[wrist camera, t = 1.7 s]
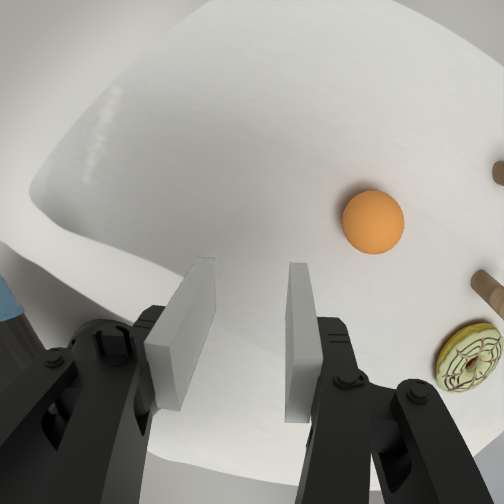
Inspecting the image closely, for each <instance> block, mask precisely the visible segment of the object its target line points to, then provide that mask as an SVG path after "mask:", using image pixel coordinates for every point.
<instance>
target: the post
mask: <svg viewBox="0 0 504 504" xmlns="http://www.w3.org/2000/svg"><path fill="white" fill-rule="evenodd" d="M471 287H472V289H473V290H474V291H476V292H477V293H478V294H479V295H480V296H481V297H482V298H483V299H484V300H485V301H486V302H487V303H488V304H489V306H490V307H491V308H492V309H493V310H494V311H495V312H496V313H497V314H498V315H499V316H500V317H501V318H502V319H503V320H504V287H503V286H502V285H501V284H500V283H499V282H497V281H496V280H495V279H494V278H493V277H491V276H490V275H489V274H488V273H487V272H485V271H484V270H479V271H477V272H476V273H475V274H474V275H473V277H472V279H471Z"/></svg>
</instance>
